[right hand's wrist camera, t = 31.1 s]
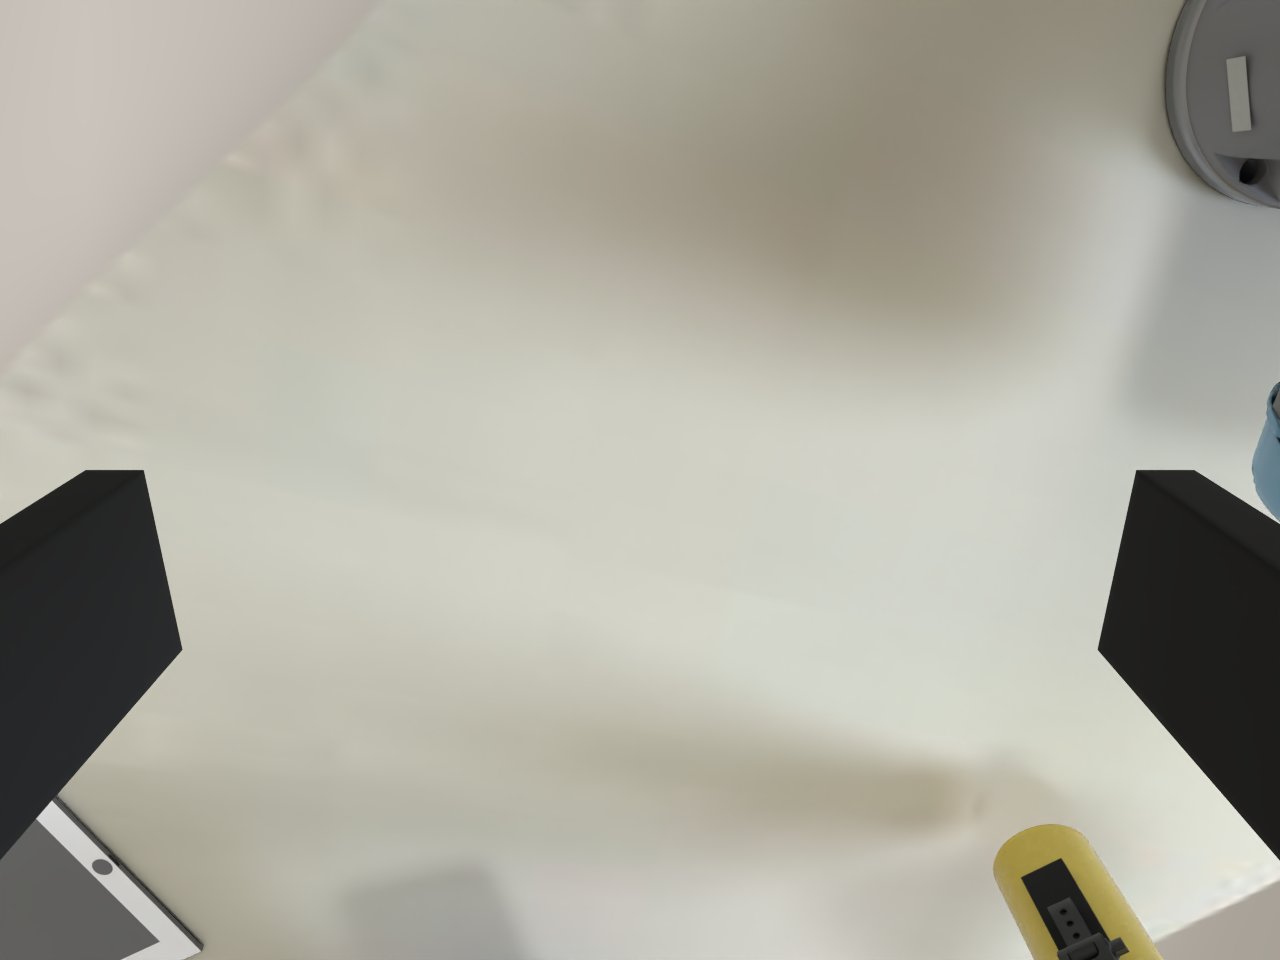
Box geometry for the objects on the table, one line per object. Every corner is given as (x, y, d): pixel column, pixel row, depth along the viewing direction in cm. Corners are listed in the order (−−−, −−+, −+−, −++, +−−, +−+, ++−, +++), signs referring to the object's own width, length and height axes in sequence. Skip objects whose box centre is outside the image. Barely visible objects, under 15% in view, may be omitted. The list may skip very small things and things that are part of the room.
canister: (1072, 809, 58) (1172, 962, 48) (1105, 876, 60) (1208, 1038, 50) (978, 849, 59) (1054, 1007, 49) (1014, 914, 61) (1094, 1079, 51)
